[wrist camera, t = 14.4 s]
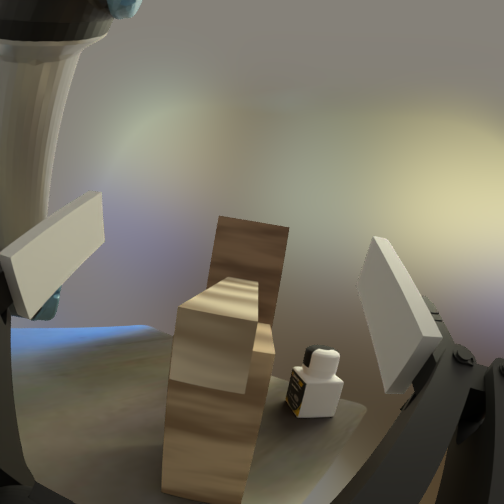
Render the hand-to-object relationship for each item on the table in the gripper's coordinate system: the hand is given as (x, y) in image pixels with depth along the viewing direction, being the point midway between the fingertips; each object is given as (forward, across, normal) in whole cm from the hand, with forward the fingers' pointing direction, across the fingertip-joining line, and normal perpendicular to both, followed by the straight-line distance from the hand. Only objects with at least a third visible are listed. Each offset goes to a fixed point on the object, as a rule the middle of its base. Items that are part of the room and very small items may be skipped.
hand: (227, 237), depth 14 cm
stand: (+20, 0, -41) cm, 46 cm away
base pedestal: (0, 0, -30) cm, 30 cm away
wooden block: (+8, 0, -14) cm, 16 cm away
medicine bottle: (+18, +15, -40) cm, 47 cm away
